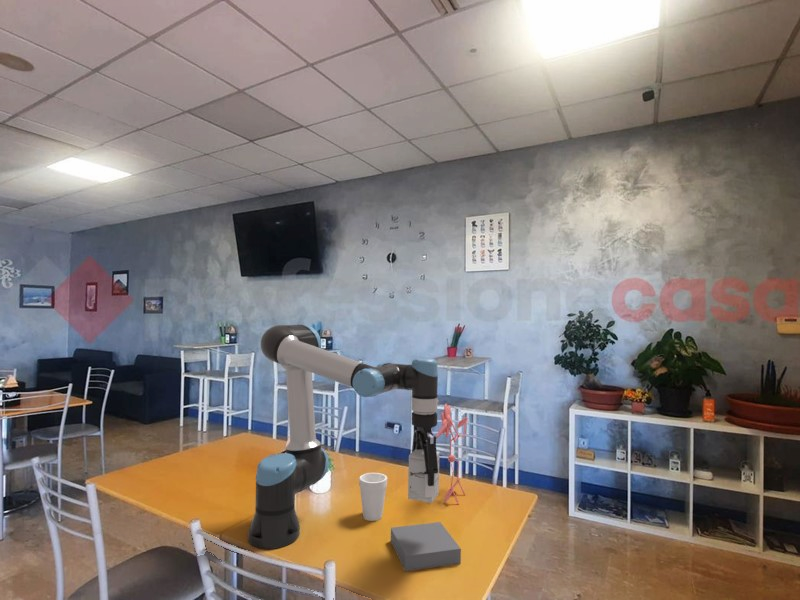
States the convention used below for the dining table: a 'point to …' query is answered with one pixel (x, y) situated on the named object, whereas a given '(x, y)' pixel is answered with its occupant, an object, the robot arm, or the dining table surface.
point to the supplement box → (420, 477)
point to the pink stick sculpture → (445, 428)
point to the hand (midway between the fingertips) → (423, 489)
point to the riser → (425, 546)
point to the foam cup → (372, 495)
